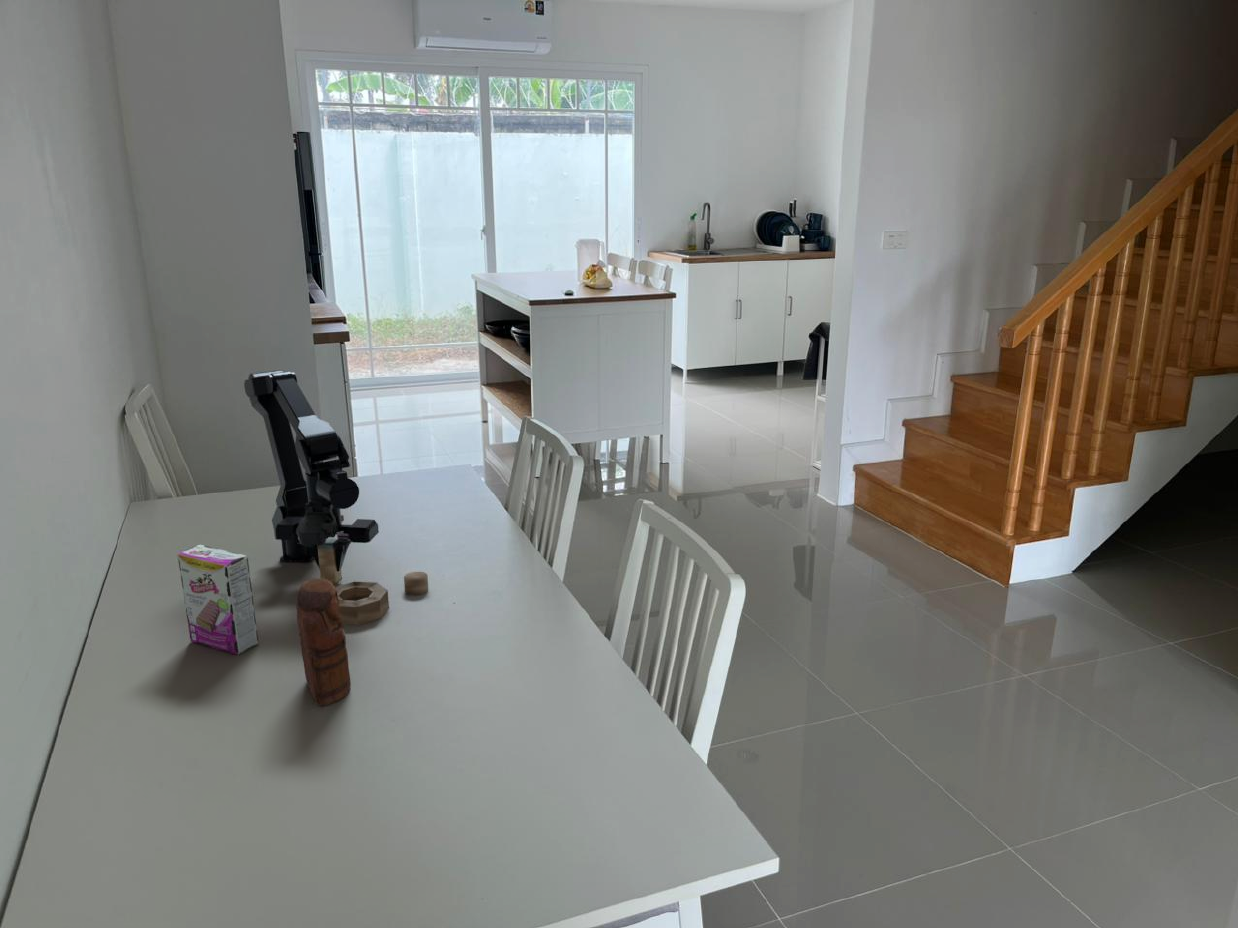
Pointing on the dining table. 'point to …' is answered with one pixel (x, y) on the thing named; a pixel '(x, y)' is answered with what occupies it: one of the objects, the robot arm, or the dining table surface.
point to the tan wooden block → (328, 561)
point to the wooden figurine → (322, 641)
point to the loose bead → (416, 583)
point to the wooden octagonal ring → (362, 602)
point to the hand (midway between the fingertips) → (330, 570)
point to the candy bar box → (218, 598)
